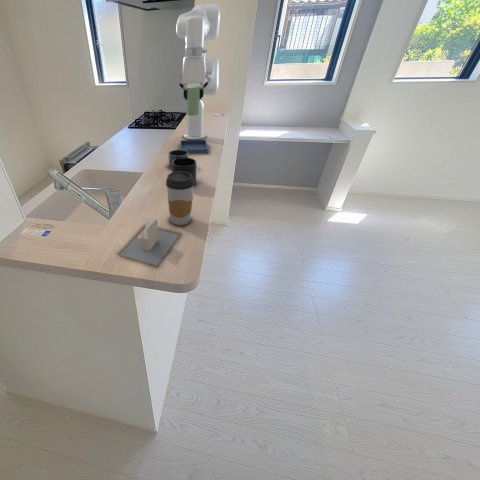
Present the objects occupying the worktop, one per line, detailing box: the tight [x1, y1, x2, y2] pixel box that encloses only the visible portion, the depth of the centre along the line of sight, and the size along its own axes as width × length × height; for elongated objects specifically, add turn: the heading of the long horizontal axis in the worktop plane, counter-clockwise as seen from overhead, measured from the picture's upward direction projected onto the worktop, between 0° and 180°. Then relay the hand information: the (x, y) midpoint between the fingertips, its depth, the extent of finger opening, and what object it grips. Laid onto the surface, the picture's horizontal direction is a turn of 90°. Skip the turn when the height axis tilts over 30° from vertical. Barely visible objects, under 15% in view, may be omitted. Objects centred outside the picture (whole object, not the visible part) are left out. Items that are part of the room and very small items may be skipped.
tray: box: [178, 139, 209, 155], centre depth 141 cm, size 16×14×2 cm
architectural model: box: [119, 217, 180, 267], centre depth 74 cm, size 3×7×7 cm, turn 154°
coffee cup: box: [165, 171, 195, 226], centre depth 81 cm, size 8×8×15 cm
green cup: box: [185, 86, 201, 116], centre depth 126 cm, size 6×6×12 cm
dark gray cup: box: [168, 149, 189, 170], centre depth 121 cm, size 9×9×6 cm
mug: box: [171, 157, 197, 186], centre depth 106 cm, size 9×12×9 cm
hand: (193, 98), depth 126 cm, fingers closed on green cup, 6 cm apart
